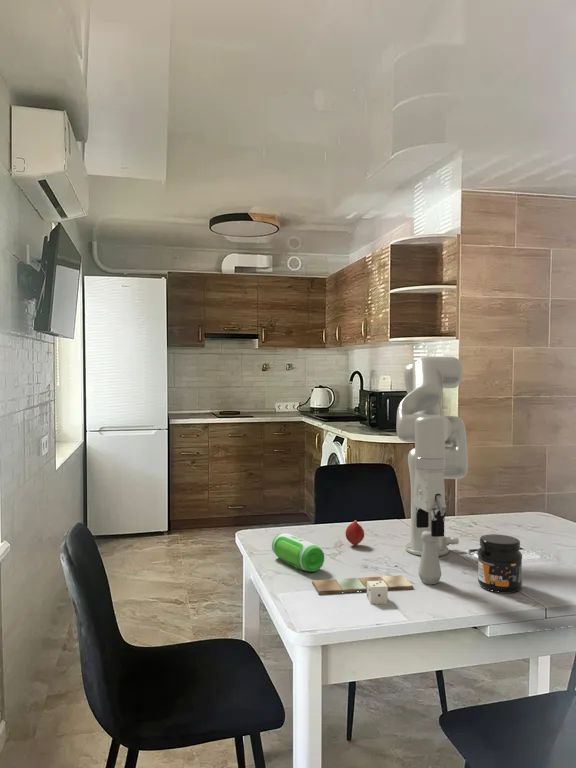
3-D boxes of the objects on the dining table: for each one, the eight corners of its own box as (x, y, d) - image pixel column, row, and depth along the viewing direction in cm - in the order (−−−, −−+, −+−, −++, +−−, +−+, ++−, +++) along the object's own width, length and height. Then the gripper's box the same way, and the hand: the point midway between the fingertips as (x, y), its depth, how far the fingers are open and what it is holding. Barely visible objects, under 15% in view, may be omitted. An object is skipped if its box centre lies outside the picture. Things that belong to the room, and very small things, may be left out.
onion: (343, 547, 183) (343, 521, 183) (348, 542, 188) (348, 517, 188) (361, 549, 181) (361, 523, 181) (366, 544, 186) (366, 518, 186)
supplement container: (470, 587, 147) (470, 539, 147) (487, 576, 156) (487, 531, 155) (513, 597, 141) (513, 547, 141) (528, 585, 149) (528, 538, 149)
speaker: (326, 571, 160) (326, 543, 160) (304, 576, 157) (304, 548, 156) (291, 555, 175) (291, 529, 175) (270, 559, 171) (270, 533, 171)
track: (402, 578, 154) (402, 575, 154) (413, 588, 147) (413, 585, 147) (312, 583, 151) (312, 580, 151) (318, 594, 143) (318, 591, 143)
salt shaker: (428, 587, 148) (428, 535, 147) (413, 580, 153) (413, 530, 152) (446, 583, 150) (446, 532, 150) (431, 576, 155) (431, 527, 155)
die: (383, 597, 141) (383, 579, 141) (387, 603, 137) (387, 586, 137) (366, 597, 141) (366, 580, 141) (370, 604, 137) (370, 586, 137)
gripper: (403, 461, 159) (403, 524, 159) (429, 469, 142) (429, 540, 142) (430, 460, 160) (430, 523, 160) (458, 468, 143) (458, 539, 143)
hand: (429, 531), depth 151 cm, fingers open, 9 cm apart
